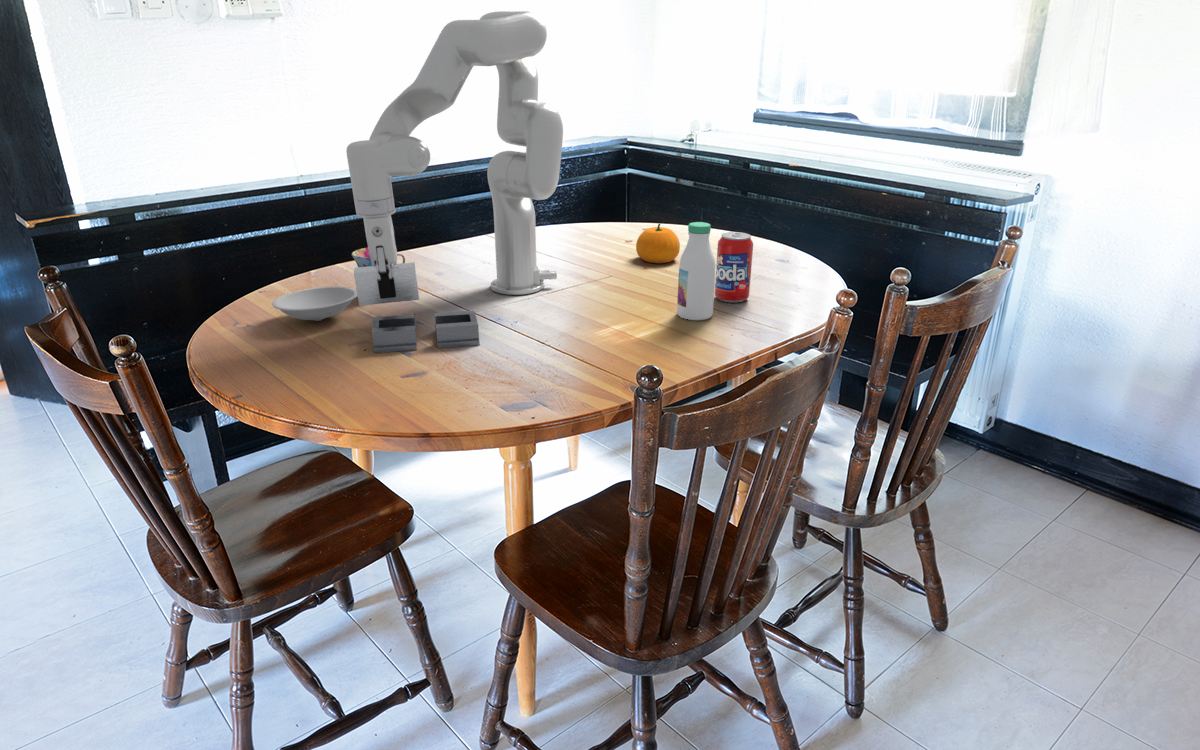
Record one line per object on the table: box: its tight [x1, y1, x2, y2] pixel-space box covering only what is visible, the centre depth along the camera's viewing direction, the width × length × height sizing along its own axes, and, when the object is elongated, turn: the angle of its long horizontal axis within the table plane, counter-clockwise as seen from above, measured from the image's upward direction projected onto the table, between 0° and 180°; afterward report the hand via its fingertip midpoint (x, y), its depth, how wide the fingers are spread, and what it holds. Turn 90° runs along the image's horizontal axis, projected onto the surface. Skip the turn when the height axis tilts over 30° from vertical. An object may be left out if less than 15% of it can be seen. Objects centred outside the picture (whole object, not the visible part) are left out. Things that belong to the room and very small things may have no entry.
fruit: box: [635, 223, 681, 264], centre depth 211 cm, size 12×12×10 cm
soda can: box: [714, 231, 754, 304], centre depth 179 cm, size 8×8×15 cm
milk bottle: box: [676, 221, 716, 321], centre depth 168 cm, size 8×8×20 cm
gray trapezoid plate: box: [353, 261, 420, 307], centre depth 163 cm, size 12×4×7 cm, turn 103°
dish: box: [271, 285, 358, 322], centre depth 167 cm, size 18×14×5 cm
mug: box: [351, 247, 406, 268], centre depth 181 cm, size 12×9×11 cm
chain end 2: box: [434, 310, 481, 349], centre depth 158 cm, size 8×10×4 cm
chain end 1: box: [371, 314, 418, 354], centre depth 155 cm, size 8×10×4 cm
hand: (388, 293), depth 164 cm, fingers closed on gray trapezoid plate, 3 cm apart
